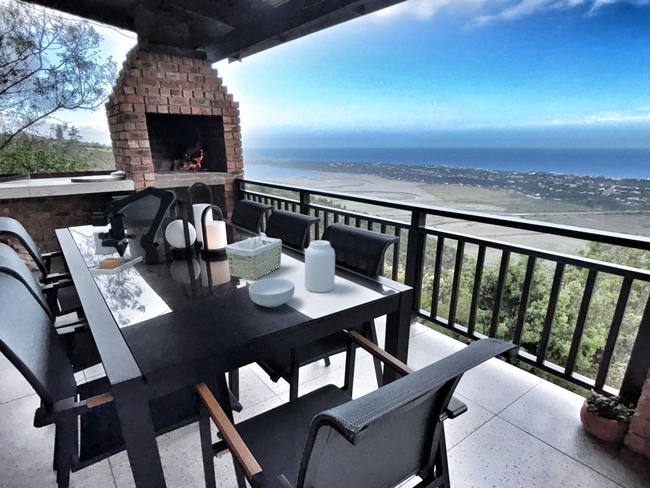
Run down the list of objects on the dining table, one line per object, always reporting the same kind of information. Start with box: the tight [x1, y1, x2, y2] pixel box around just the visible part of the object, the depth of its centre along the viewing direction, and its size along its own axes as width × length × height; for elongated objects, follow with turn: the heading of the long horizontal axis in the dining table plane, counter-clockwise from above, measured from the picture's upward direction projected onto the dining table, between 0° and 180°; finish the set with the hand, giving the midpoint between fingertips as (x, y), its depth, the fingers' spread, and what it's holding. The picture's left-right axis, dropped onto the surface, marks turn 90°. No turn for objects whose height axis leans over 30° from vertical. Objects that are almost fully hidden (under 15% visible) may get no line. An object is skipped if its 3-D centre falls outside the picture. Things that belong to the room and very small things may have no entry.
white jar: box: [304, 239, 336, 293], centre depth 139 cm, size 12×12×20 cm
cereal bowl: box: [248, 277, 295, 308], centre depth 125 cm, size 17×17×7 cm
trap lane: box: [89, 255, 143, 276], centre depth 165 cm, size 11×24×2 cm, turn 178°
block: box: [99, 257, 122, 270], centre depth 160 cm, size 6×6×5 cm
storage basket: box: [225, 235, 283, 281], centre depth 159 cm, size 24×16×15 cm
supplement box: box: [92, 229, 118, 255], centre depth 188 cm, size 7×7×13 cm
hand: (121, 256), depth 168 cm, fingers closed
